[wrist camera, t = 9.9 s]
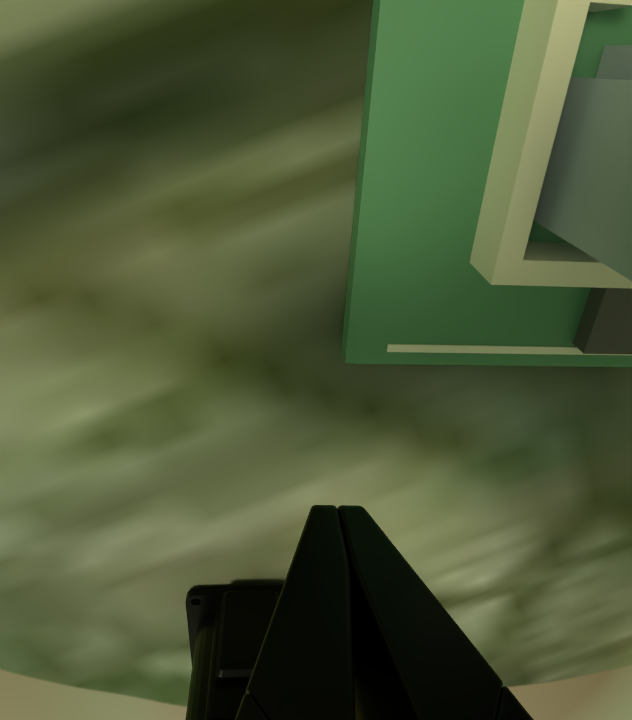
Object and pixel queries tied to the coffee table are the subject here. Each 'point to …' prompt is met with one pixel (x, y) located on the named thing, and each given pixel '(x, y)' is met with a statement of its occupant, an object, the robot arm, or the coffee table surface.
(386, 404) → the coffee table surface
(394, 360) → the board
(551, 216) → the plug
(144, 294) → the coffee table surface
